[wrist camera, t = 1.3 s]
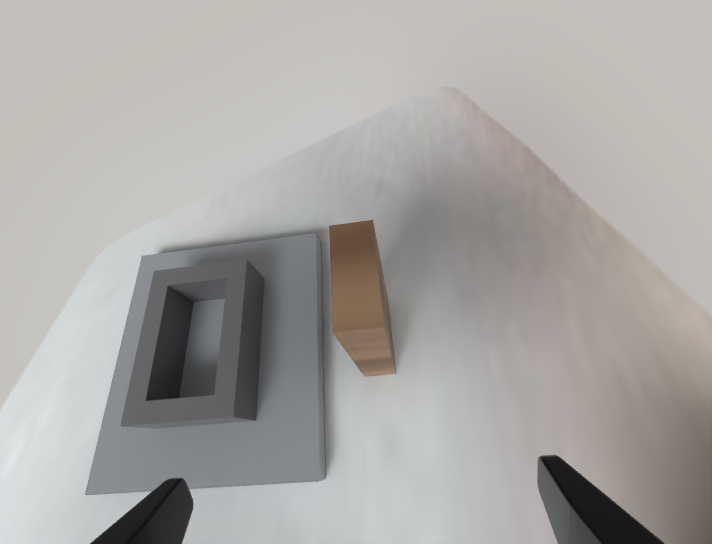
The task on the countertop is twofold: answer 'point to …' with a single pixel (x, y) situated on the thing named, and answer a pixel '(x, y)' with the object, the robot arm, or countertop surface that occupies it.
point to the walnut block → (360, 298)
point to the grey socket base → (218, 371)
